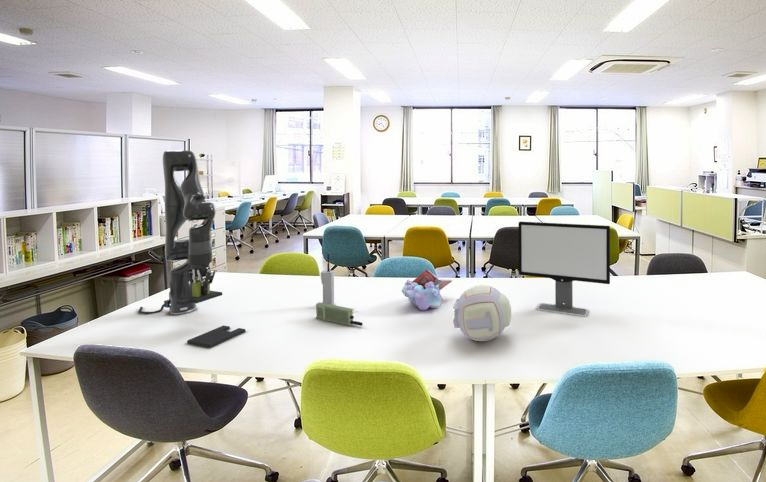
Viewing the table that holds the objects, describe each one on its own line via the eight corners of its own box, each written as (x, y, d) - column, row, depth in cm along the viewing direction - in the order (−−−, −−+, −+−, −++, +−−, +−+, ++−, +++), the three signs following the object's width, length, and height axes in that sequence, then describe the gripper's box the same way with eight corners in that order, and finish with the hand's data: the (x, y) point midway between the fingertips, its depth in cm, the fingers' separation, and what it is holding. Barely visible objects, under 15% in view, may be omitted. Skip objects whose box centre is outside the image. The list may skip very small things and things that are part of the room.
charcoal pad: (187, 343, 137) (187, 340, 137) (223, 328, 151) (223, 325, 151) (210, 348, 134) (210, 344, 134) (245, 331, 147) (245, 329, 147)
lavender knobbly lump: (395, 303, 164) (416, 269, 164) (399, 286, 185) (417, 256, 186) (434, 324, 167) (454, 290, 167) (434, 305, 188) (452, 275, 189)
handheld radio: (321, 316, 163) (364, 325, 152) (315, 319, 160) (359, 329, 149) (320, 301, 162) (364, 309, 152) (314, 304, 159) (358, 313, 149)
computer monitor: (517, 307, 172) (517, 222, 171) (522, 301, 180) (522, 220, 179) (609, 320, 157) (609, 227, 156) (610, 312, 164) (610, 224, 164)
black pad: (170, 303, 142) (170, 286, 142) (205, 292, 154) (205, 277, 154) (188, 306, 139) (188, 289, 139) (222, 295, 151) (222, 279, 151)
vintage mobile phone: (323, 304, 176) (322, 253, 176) (334, 304, 177) (333, 253, 176) (320, 307, 173) (320, 255, 172) (331, 307, 173) (331, 255, 173)
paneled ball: (456, 326, 151) (455, 278, 151) (509, 326, 150) (509, 278, 150) (450, 351, 130) (450, 295, 130) (512, 351, 129) (512, 296, 129)
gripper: (178, 252, 146) (179, 295, 147) (202, 255, 142) (203, 299, 142) (198, 248, 153) (198, 289, 154) (222, 251, 149) (222, 293, 149)
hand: (201, 294), depth 148 cm, fingers closed on black pad, 2 cm apart
